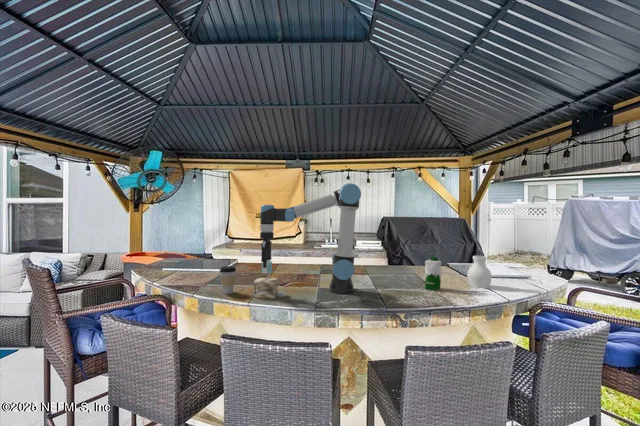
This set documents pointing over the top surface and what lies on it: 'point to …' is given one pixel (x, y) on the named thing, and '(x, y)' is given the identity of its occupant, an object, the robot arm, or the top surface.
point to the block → (268, 267)
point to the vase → (479, 273)
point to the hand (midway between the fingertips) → (266, 272)
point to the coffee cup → (227, 279)
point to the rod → (277, 293)
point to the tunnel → (266, 287)
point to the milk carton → (432, 274)
